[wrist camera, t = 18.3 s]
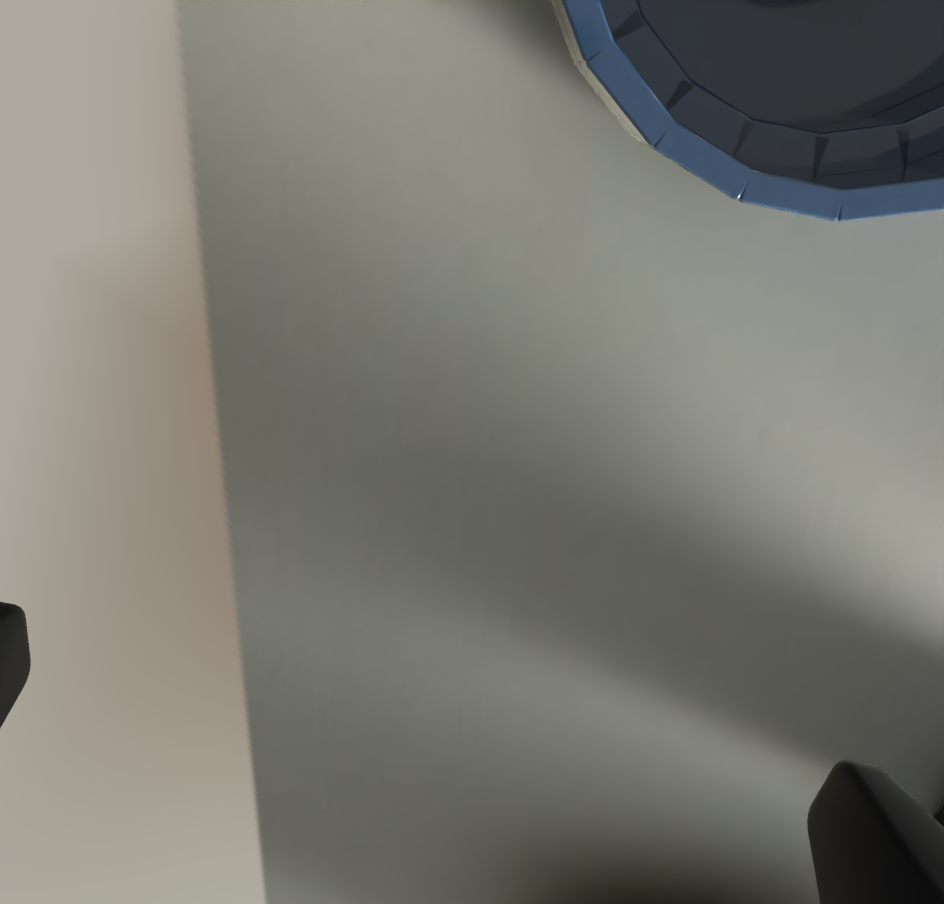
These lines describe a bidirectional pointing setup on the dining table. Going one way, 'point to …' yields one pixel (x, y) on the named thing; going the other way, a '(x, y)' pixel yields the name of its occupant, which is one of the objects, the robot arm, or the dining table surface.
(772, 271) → the dining table surface
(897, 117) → the bowl
